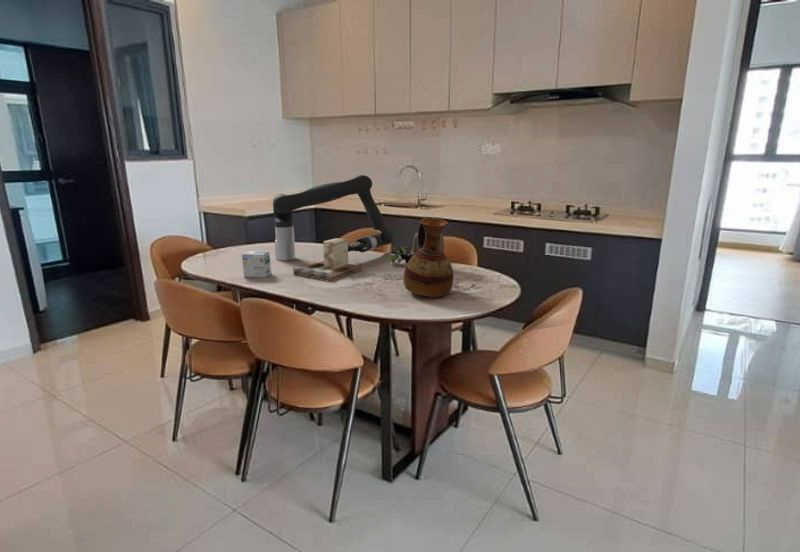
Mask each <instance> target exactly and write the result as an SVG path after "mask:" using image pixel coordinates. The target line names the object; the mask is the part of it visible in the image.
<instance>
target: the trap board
mask: <svg viewBox="0 0 800 552" xmlns="http://www.w3.org/2000/svg"><path fill="white" fill-rule="evenodd" d="M362 270H363V265H360V264H353V263H348V264H347V265H344V266H341V267H338V268H330V267H324V260H322V261H319V262H316V263H313V264H309V265H307V266H303V267H299V266H292V271H293V275H294V274H295V275H294V276H299V275H300V276H299V277H304V276H307V277H306V278H310V277H313V278H312V279H315V278H317V279H316V280H320V279H323V280H322V281H326V280H328V281H327V282H333V281H336V280H338V278H339V279H341V278H344V277H346V275H347V276H349V275H352V274H354V273H357V272H360V271H362ZM335 279H336V280H335ZM332 280H333V281H332Z"/></svg>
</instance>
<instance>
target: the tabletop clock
mask: <svg viewBox="0 0 800 552" xmlns="http://www.w3.org/2000/svg"><path fill="white" fill-rule="evenodd" d="M426 218H432V217H429V216H427V217H424V218H422V219H421V220H423V219H426ZM444 241H445V239H444V235H443V233H441V236H440V242H439V243H440V250H441V251H442V252H443V253H444V248H445V242H444ZM411 246H412V247H411V254H413V255H414V254H415V253H416V252H417V251H418V249H419V247H418V232H415V234H414V236H413V240H412V245H411Z"/></svg>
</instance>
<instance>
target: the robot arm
mask: <svg viewBox="0 0 800 552" xmlns="http://www.w3.org/2000/svg"><path fill="white" fill-rule="evenodd" d="M372 186H373V181H372V179H371V178H370V177H369V176H367V175H366V174H359V175H357V176H355V177H354V178H351V179H348V180H344V181H336V182H329V183H324V184H320V185H315V186H312V187H310V188H308V189H306V190H304V191H300V192H298V193H297V192H296V193H292V194H285V193H279V194H277V195H276V196H275V197H274V198H273V201H272V208H273V209H272V211H273V222H274V231H275V240H274V249H275V251H274V252H275V259H276V260H278V261H283V262H284V261H286V262H287V261H293V260H295V259H296V247H295V246H296V244H295V231H294V218H293V211H296V210H298V209H302V208H305V207H311V206H317V205H322V204H326V203H329V202H332V201H336V200H339V199H342V198H344V197H347V196H352V195H357V196H358V197H359V199H360V200H361V203H362V205H363V207H364V210H365V211H366V212H365V213H366V215H367V217H368V219H369V221H370V224H371V227H372V229H373V230H374V231H379V233H376V234H372V235H366V236H362V237H358V239H356V241H354V242H353V243H351V244H350V243H349V242H348V253H349V252H359V253H367V252H370V251H372V250H374V249H378V248H379V247H382V246H386V245H390V244H392V243H393V242H394V241H395V240H394V239H395V238H394V233H393V231H391V229H390V228H389V226H388V225H387V224H386V223H385V220H384V218H383V215H382V213H381V210H380V209H379V207H378V206H377V204H376V202H375V200H374V198H373V195H372V191H371V189H372Z"/></svg>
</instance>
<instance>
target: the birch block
mask: <svg viewBox="0 0 800 552" xmlns="http://www.w3.org/2000/svg"><path fill="white" fill-rule="evenodd" d="M348 241H349V239H347V238H340V237H339V238H338V237H335V238H332V239H328V240H324V241H323V242H322V244H323V245H322V246H323V248H322V249H323V261H324V267H330V268H338V267H341V266H344V265H347V264H349V252H348V243H349V242H348Z"/></svg>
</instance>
